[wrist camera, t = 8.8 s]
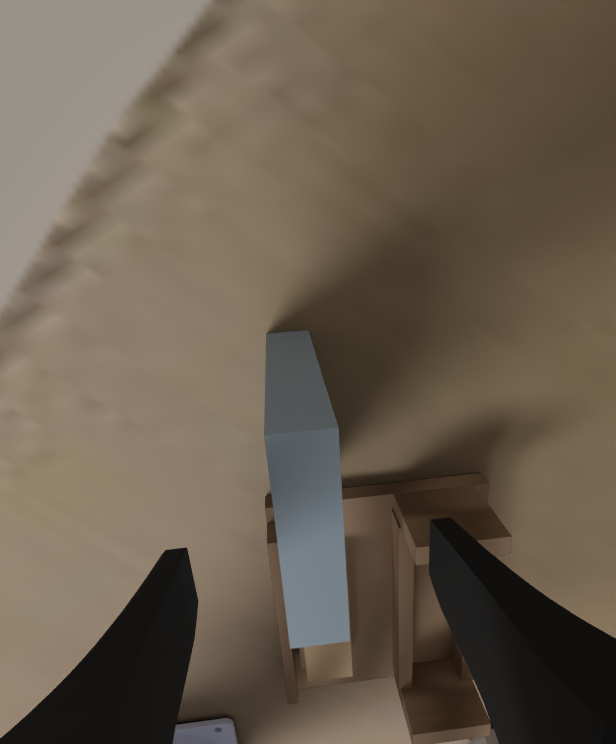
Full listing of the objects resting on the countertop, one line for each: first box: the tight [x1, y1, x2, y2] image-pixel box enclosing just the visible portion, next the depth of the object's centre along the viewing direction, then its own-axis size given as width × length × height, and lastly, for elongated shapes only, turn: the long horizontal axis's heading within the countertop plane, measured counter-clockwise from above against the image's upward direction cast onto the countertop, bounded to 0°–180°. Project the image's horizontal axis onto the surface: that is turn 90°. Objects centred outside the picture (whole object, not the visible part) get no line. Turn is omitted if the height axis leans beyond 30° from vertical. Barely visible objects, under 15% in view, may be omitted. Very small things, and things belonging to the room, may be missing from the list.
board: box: [264, 330, 350, 649], centre depth 18 cm, size 2×8×10 cm, turn 4°
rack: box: [265, 473, 512, 744], centre depth 25 cm, size 12×14×5 cm
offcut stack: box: [299, 554, 353, 682], centre depth 25 cm, size 3×8×2 cm, turn 4°
